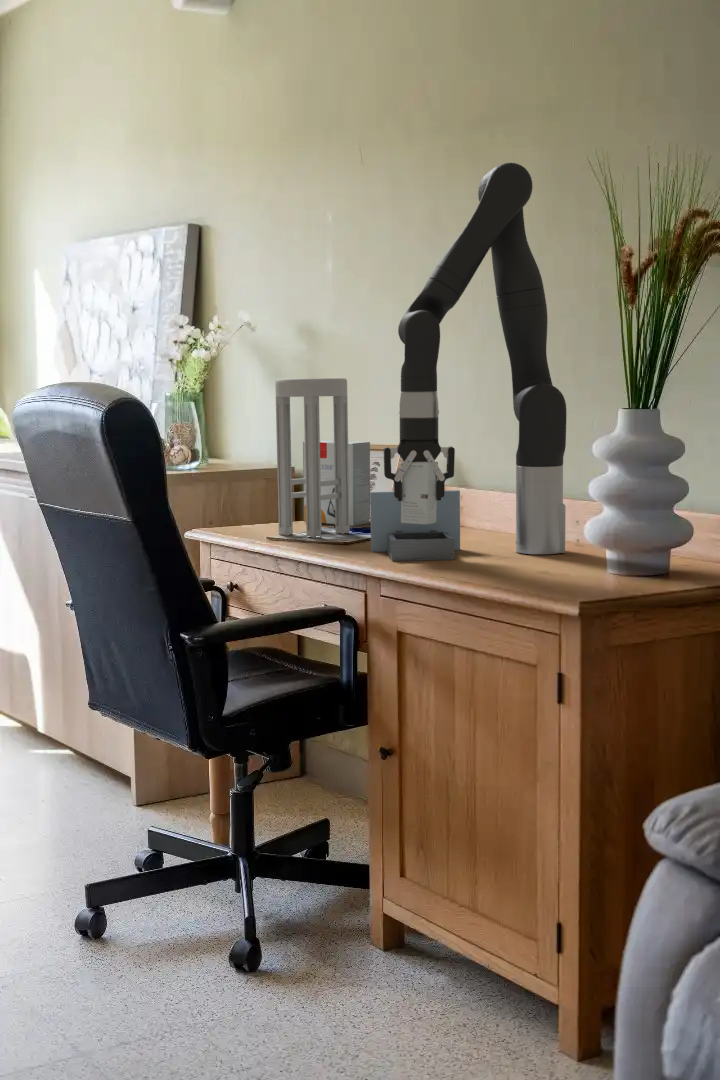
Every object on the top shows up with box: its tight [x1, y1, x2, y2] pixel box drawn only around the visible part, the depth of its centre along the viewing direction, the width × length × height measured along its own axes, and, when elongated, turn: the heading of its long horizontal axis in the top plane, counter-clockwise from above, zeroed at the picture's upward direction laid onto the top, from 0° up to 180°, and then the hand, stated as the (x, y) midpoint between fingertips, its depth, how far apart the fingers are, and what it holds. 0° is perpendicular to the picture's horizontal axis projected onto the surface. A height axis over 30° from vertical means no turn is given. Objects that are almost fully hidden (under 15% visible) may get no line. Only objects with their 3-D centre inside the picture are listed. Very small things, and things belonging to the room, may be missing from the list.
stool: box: [275, 377, 351, 537], centre depth 293 cm, size 16×16×35 cm
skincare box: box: [401, 461, 439, 524], centre depth 254 cm, size 6×4×12 cm
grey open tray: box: [386, 530, 455, 562], centre depth 256 cm, size 12×14×4 cm
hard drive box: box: [302, 439, 371, 527], centre depth 316 cm, size 16×8×20 cm, turn 53°
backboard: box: [370, 489, 461, 553], centre depth 263 cm, size 18×2×12 cm, turn 93°
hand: (419, 500), depth 254 cm, fingers closed on skincare box, 7 cm apart
